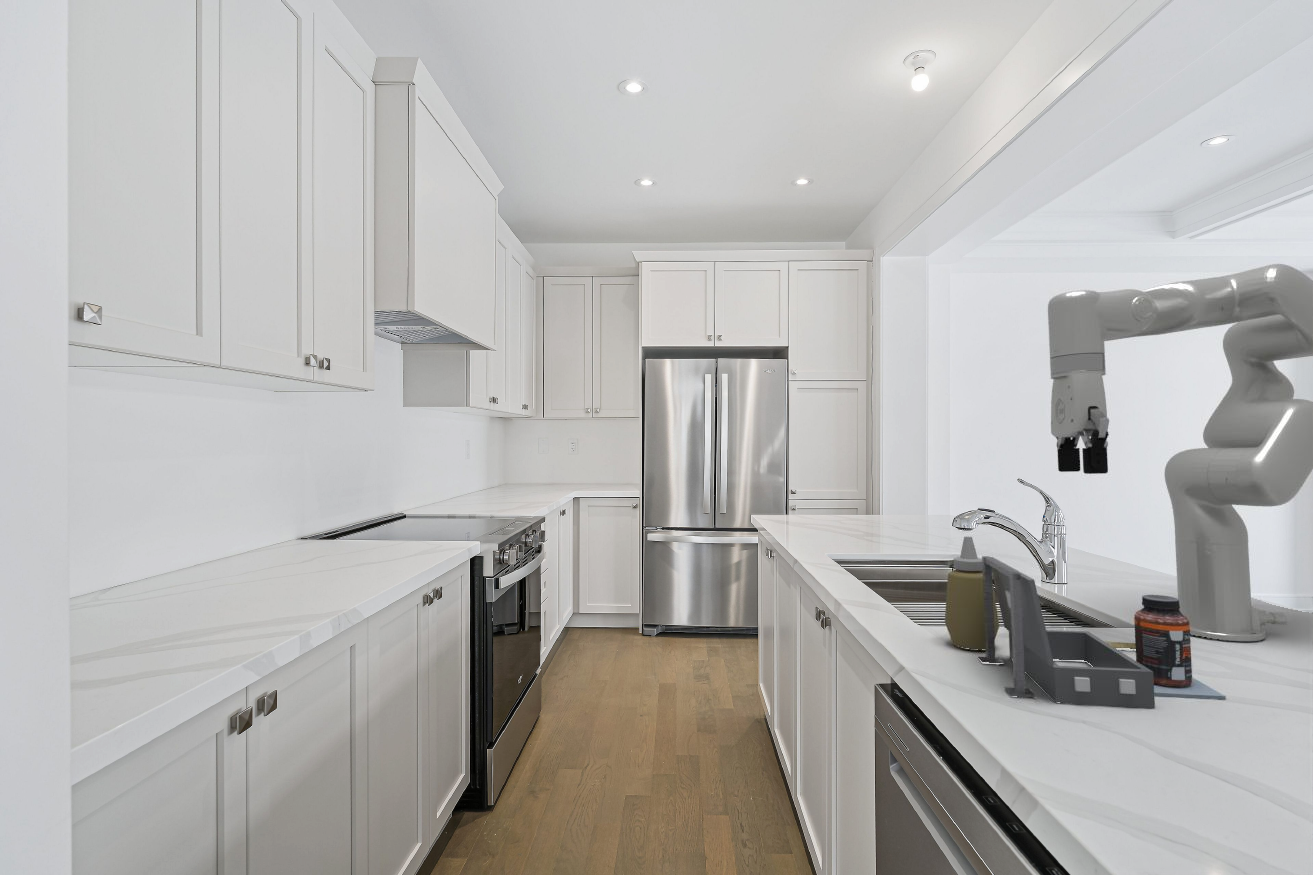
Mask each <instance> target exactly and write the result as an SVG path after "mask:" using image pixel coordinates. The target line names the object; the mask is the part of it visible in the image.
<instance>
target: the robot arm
mask: <svg viewBox="0 0 1313 875" xmlns="http://www.w3.org/2000/svg"><path fill="white" fill-rule="evenodd" d="M1047 321H1048V322H1047V323H1048V324H1047V325H1048V340H1049V341H1048V342H1049V343H1048V344H1049V345H1048V346H1049V368H1050V369H1049V370H1050V371H1049V372H1050V380H1052V388H1051V400H1050V405H1051V406H1050V434H1051V435H1052V436H1053V437H1055V438H1056V448H1057V451H1056V452H1057V467H1058V468H1057V469H1058V472H1061V473H1068V472H1072V473H1073V472H1081V453H1080V452H1081V450H1080V447H1078V445H1079V441H1080V437H1081V440H1082V442H1083V444H1084V448H1083V447H1082V470H1083V471H1082V472H1083V473H1084V474H1086V475H1090V474H1091V475H1092V474H1093V475H1094V474H1095V475H1098V474H1101V475H1102V474H1108V473H1109V465H1108V446H1109V442H1108V437H1109V430H1108V429H1109V426H1110V419H1109V417H1108V410H1107V399H1106V391H1105V390H1106V389H1105V383H1104V378H1103V376H1106V375H1107V374H1106V373H1107V371H1106V355H1105V354H1106V353H1105V352H1106V350H1105V342H1108V341H1110V342H1111V341H1116V340H1117V341H1118V340H1122V339H1129V338H1135V337H1136V338H1137V337H1147V336H1158V335H1166V334H1171V333H1178V332H1179V333H1180V332H1184V331H1185V332H1186V331H1192V330H1195V329H1203V328H1213V327H1219V326H1224V325H1229V324H1230V325H1231V324H1232V325H1231V326H1230V327H1228V329H1227V330H1226V332H1225V333H1224V335H1223V339H1222V349H1223V353H1224V355H1225V358H1226V361H1227V364H1228V368H1229V371H1230V375H1231V385H1230V387H1229V389H1227V391H1226V393H1225V395H1224V396H1223V397H1222V400H1220V402H1219V404H1218V406H1216V408H1215V409H1214V411H1213V412H1212V414H1211V415H1210V417H1209V419H1208V420H1207V423H1206V424H1205V426H1204V428H1203V432H1202V438H1203V443H1204V444H1205V446H1207V447H1200V448H1197V447H1196V448H1191V449H1186V450H1183V451H1180V452H1178V453H1176V454H1174V455H1173V456H1171V457H1170V458H1169V460H1168V461H1167V462H1166V465H1165V468H1164V481H1165V484H1166V485H1165V486H1166V489H1167V493H1168V496H1169V498H1170V502H1171V508H1172V512H1173V513H1172V514H1173V521H1174V522H1173V524H1174V537H1175V539H1174V540H1175V542H1174V543H1175V563H1176V584H1177V586H1176V587H1177V599H1179V605H1180V609H1179V610H1180V612H1181V613H1182V614H1183V615H1184V616H1186V617H1187V618H1188V620H1189V624H1190V634H1191V635H1190V636H1193V635H1195V636H1194V637H1198V636H1202V637H1201V638H1204V637H1207V638H1206V639H1210V638H1212V640H1217V639H1219V641H1227V640H1228V641H1229V642H1258V641H1262V640H1265V638H1266V636H1267V634H1266V630H1265V629H1264V628H1262V627H1263V626H1265V625H1266V624H1272V625H1287V624H1288V622H1289V619H1288V615H1287V614H1286V613H1284V612H1276V611H1273V612H1272V611H1271V612H1266V611H1265V610H1260V609H1259V608H1256V607H1253V606H1252V593H1251V572H1250V554H1249V551H1250V549H1249V534H1248V533H1249V532H1248V529H1247V526H1246V524H1245V521H1244V520H1243V519H1242V517H1241V515H1240V514H1239V512H1238V511H1237V510H1236V509H1235V507H1234V506H1249V507H1277V506H1279V507H1280V506H1282V505H1285V504H1286V503H1289V502H1290V501H1292V499H1294V498H1295V497H1296V496H1297V494H1298V493H1299V491H1300V490H1301V488H1303V485H1304V484H1305V483H1306V481H1307V479H1308V478H1309V476H1310V475H1311V472H1312V471H1313V401H1312V400H1307V399H1303V398H1294V397H1295V388H1294V385H1293V383H1292V382H1291V381H1290V379H1289V378H1288V377H1287V376H1286V375H1285V374H1284V373H1283V372H1282V371H1280V370H1279V369H1278V367H1277V366H1276V364H1275V362H1276V361H1283V360H1291V359H1300V358H1306V357H1307V358H1308V357H1313V279H1311V278H1310V277H1309V276H1308V275H1307V274H1305V273H1303V272H1302V271H1301V270H1298V269H1297V268H1295V267H1293V266H1290V265H1287V264H1283V263H1273V264H1267V265H1265V266H1260V267H1256V268H1253V269H1249V270H1245V271H1242V272H1241V271H1239V272H1237V273H1232V274H1227V275H1224V276H1215V277H1208V278H1201V279H1194V280H1193V279H1192V280H1191V279H1190V280H1184V281H1176V282H1175V281H1174V282H1170V283H1166V284H1163V285H1157V286H1154V287H1151V288H1148V289H1144V290H1138V289H1134V288H1130V289H1129V288H1128V289H1120V290H1119V289H1118V290H1112V291H1111V290H1109V291H1101V292H1100V291H1099V292H1098V291H1095V290H1090V289H1088V290H1087V289H1085V290H1084V289H1082V290H1081V289H1080V290H1074V291H1067V292H1062V293H1059V294H1057V295H1055V296H1053V297H1052V298H1050V299H1049V301H1048V304H1047ZM1233 505H1234V506H1233Z"/></svg>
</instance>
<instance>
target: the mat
mask: <svg viewBox="0 0 1313 875" xmlns="http://www.w3.org/2000/svg"><path fill="white" fill-rule="evenodd" d="M1154 697H1171V698H1172V697H1173V698H1186V699H1187V698H1191V699H1193V698H1194V699H1207V698H1213V700H1226V699H1227V698H1226V695H1224V694H1222V693H1220V692H1219V691H1217V690H1215V689H1214V688H1212V687H1210V686H1208V685H1206V684H1205V683H1203V682H1202V681H1199V680H1198V679H1196V678H1194V677H1193V676H1192V683H1191V684H1190V685H1188V686H1185V687H1171V686H1163V685H1158V684H1154Z"/></svg>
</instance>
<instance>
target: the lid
mask: <svg viewBox="0 0 1313 875" xmlns="http://www.w3.org/2000/svg"><path fill="white" fill-rule="evenodd" d="M990 557H991V558H992V559H994V560H996V561H998V562H999V563H1001V564H1003V565H1005V566H1007V567H1008V568H1010V569H1012V570H1014V571H1016V572H1018V573H1020V574H1021V597H1022V621H1023V644H1024V645H1026V646H1027V647H1028V648H1029V649H1030V650H1031V651H1033V652H1034V653H1035V654H1036V655H1037V656H1038V657H1040V658H1041V659H1042V660H1043V661H1044V662H1045V663H1047V664H1048V665H1049V666H1051V665H1054V662H1055V661H1054V662H1053V657H1052V653H1051V649H1050V645H1049V640H1048V636H1047V632H1046V630H1047V628H1046V625H1045V620H1044V616H1043V612H1042V607H1041V603H1040V602H1041V601H1040V599H1039V598H1040V597H1039V594H1038V590H1037V586H1036V582H1035V579H1034V578H1032V577H1030V576H1028V575H1026V574H1025V573H1023V572H1021V571H1019V570H1017V569H1016V568H1014V567H1012V566H1010V565H1008V564H1006V563H1004V562H1003V561H1001V560H1000V559H998V558H995V557H994V556H990ZM992 581H993V585H994V589H995V591H996V595H997V596H996V597H997V601H998V604H999V610H1000V614H1001V618H1002V623H1003V626H1004V628H1005V629H1006V630H1007V631H1008V633H1009V632H1010V633H1012V626H1011V601H1010V577H1008V576H1006V575H1005V574H1003V573H1001V572H1000V571H998V570H996V569H995V568H993V567H992Z"/></svg>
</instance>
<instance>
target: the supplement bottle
mask: <svg viewBox="0 0 1313 875" xmlns="http://www.w3.org/2000/svg"><path fill="white" fill-rule="evenodd" d="M1141 605H1142V607H1143V608H1141V609H1139V610H1137V611H1135V614H1134V621H1133V622H1134V641H1135V642H1134V643H1135V647H1136V651H1135V661H1137V662H1138V663H1140V664H1141V665H1143V666H1145V667H1146V668H1148V669H1149V670H1151V671H1153V677H1154V684H1158V685H1163V686H1171V687H1185V686H1188V685H1190V684H1191V683H1192V677H1193V668H1192V667H1193V666H1192V665H1193V664H1192V649H1191V645H1192V644H1191V643H1192V642H1191V635H1190V624H1189V620H1188V618H1187V617H1186V616H1184V615H1183V614H1182V613H1181V612H1180V610H1179V609H1180V605H1179V599H1178V597H1174V596H1169V595H1161V594H1144V595H1142V596H1141Z"/></svg>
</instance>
